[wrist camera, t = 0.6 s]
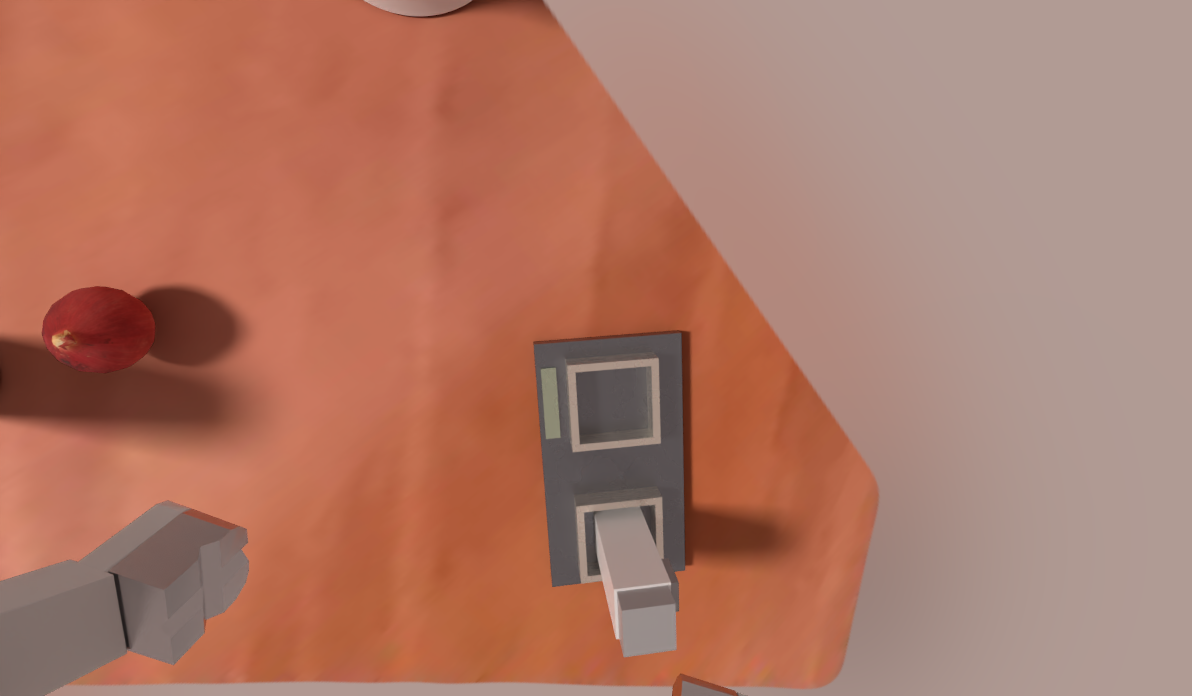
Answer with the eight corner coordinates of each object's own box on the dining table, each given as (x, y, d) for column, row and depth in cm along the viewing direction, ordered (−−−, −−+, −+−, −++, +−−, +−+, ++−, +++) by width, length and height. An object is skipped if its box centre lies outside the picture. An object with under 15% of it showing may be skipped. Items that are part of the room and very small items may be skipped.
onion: (154, 371, 45) (81, 407, 38) (76, 330, 44) (-17, 358, 36) (192, 308, 45) (125, 331, 37) (114, 264, 43) (27, 278, 36)
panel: (533, 341, 49) (534, 350, 46) (678, 330, 50) (688, 338, 47) (551, 580, 54) (553, 601, 51) (682, 563, 55) (691, 583, 53)
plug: (593, 510, 52) (618, 608, 39) (648, 503, 52) (690, 599, 40) (595, 551, 53) (620, 660, 40) (649, 544, 53) (690, 650, 41)
